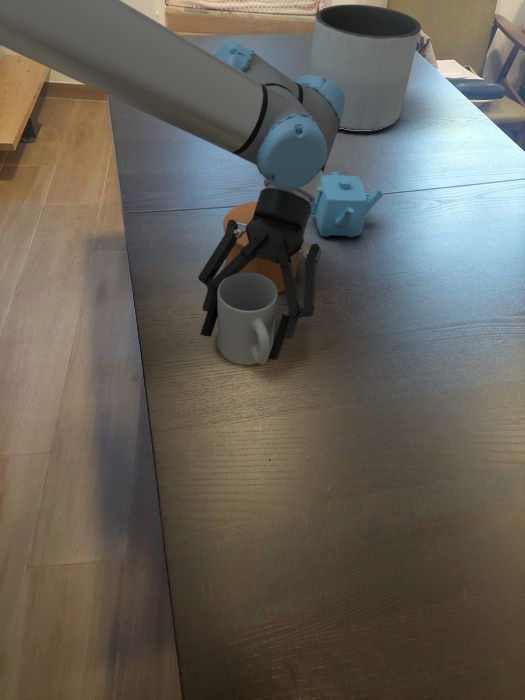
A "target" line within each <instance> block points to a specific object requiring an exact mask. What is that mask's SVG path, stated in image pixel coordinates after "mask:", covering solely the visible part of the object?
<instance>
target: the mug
mask: <svg viewBox="0 0 525 700" xmlns="http://www.w3.org/2000/svg"><path fill="white" fill-rule="evenodd" d="M278 298H279V293H278V291H277V288H276V286H275V284H274V283H273V282H272V281H271V280H270V279H268V278H267V277H265V276H263V275H260V274H257V273H251V272H242V273H236V274H233V275H230V276H228V277H227V278H225V279H224V280H223V281H222V282H221V283H220V285H219V287H218V294H217V304H218V317H217V347H218V350H219V352H220V354H221V355H222V356H223V357H224V358H225V359H226V360H227V361H229V362H231V363H234V364H236V365H243V366H249V365H255V364H258V365H265V364H266V363H267V362H268V360H269V359H268V358H269V355H270V352H271V349H272V346H273V342H274V339H275V327H276V318H277V307H278Z"/></svg>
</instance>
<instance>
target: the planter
mask: <svg viewBox="0 0 525 700" xmlns="http://www.w3.org/2000/svg"><path fill="white" fill-rule="evenodd" d="M421 30H422V25H421V23H420V22H419V21H418V20H417V19H416V18H414V17H413V16H411V15H408V14H406V13H404V12H401V11H399V10H395V9H392V8H391V9H390V8H386V7H382V6H377V5H367V4H336V5H331V6H327V7H324V8H322V9H321V8H320V10H319V11H317V12H316V14H315V19H314V28H313V36H312V43H311V51H310V57H309V58H310V59H309V65H308V73H307V75H318V76H322V77H324V78H325V79H327V80H332V81H333V82H335V83H336V84H337V85H339V86H340V87H341V89H342V90H343V92H344V94H345V106H344V111H343V114H342V118H341V123H340V128H344V129H351V130H375V129H380V128H384V127H387V126H389V125H391V124H393V123H394V122H395V121H396V120H397V119H398V120H399V118H400V115H401V113H402V109H403V105H404V100H405V97H406V93H407V88H408V84H409V81H410V75H411V71H412V67H413V63H414V60H415V55H416V51H417V46H418V44H419V38H420V35H421V32H422V31H421ZM398 120H397V121H398ZM397 121H396V122H397ZM396 122H395V123H396ZM395 123H394V124H395ZM394 124H393V125H394ZM391 126H392V125H391ZM389 127H390V126H389ZM387 128H388V127H387ZM344 129H339V130H338V131H343V132H349V133H372V132H377V131H381V130H385V129H386V128H384V129H380V130H375V131H350V130H344Z"/></svg>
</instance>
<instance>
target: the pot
mask: <svg viewBox="0 0 525 700" xmlns="http://www.w3.org/2000/svg"><path fill="white" fill-rule="evenodd" d="M243 248H244V247H241V246H239V245H237V244H235V245H234V247H233V248H232V250H231V251H230V253H229V255H228V256H227V258H226V259H225V267H226V266H227V265H228V264H229V263H230V262H231V261H232V260H233V259H234V258H235V257H236V256H237V255H238V254H239V253H240V252H241V250H242V249H243ZM300 251H301V249H300V250H299V251H298V252H297V253H295V254H294V255H293V256H291V262H292V267H293V275H294V280H296V277H297V273H298V267H299V266H298V265H299V260H300V259H299V258H300ZM242 272H251V273H257V274H260V275H263V276H265V277H267V278H268V279H270V280H271V281H272V282H273V283H274V284H275V286H276V288H277V291H278V294H280V293H282V292H285V287H284V282H283V277H282V272H281V268H280V264H277V263H274V262H272V261H271V260H267V259H261V258H258V257H256V258H255V259H254V260H252V261H250V262H249V263H248V264H247V265H246V266H245V267H244V268H243V269H242V270H241V271H240V272H239V273H242Z"/></svg>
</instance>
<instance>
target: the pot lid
mask: <svg viewBox="0 0 525 700" xmlns="http://www.w3.org/2000/svg"><path fill="white" fill-rule="evenodd" d="M257 202H258V201H251V202H245V203H242V204H239V205H237V206H235V207H233V208H232V209H230V210H229V211H228V212H227V213H226V214H225V216H224V217H223V221H222V229H223V232H224V233H225V232H226V227H227V223H228V221H229V220H231V219H233V220H235V221H236V222H238V223H242V224H248V223H249V222H250V221H251V220H252V218H253V215H254V211H255V208H256V205H257ZM305 232H306V230H305V231H304V235H305ZM304 235H303V237H304ZM248 243H249V240H248V237H247V233H244V234H243V235H242V237H241V238H238V239H237V241H236V243H235V244H237V245H239V246H241V247H245V246H246V245H247V244H248Z"/></svg>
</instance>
